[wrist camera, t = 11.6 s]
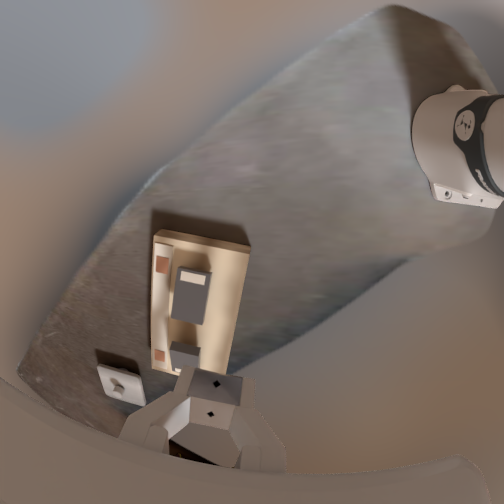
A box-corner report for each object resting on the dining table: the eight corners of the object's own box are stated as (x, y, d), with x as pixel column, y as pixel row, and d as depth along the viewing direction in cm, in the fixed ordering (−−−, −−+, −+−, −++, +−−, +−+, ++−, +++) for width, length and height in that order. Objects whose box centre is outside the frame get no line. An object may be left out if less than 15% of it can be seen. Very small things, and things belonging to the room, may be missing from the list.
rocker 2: (200, 347, 40) (198, 356, 39) (200, 369, 44) (197, 377, 43) (172, 340, 40) (169, 349, 39) (174, 363, 44) (172, 371, 43)
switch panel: (251, 246, 40) (249, 257, 36) (225, 373, 49) (222, 389, 45) (161, 228, 40) (151, 237, 36) (157, 357, 48) (150, 371, 45)
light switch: (110, 387, 54) (102, 402, 49) (101, 356, 50) (91, 372, 45) (149, 398, 54) (142, 414, 49) (143, 368, 50) (135, 385, 45)
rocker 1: (212, 272, 38) (210, 274, 36) (204, 321, 38) (202, 325, 37) (180, 265, 38) (177, 267, 36) (173, 314, 38) (170, 318, 37)
